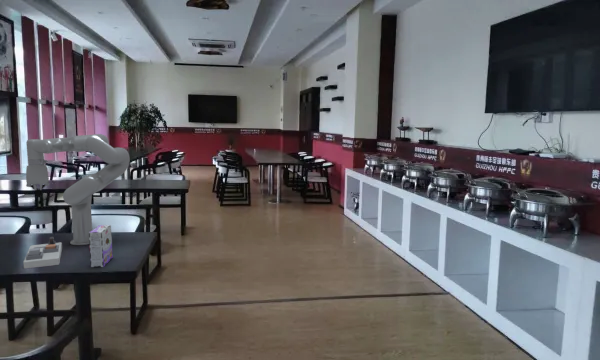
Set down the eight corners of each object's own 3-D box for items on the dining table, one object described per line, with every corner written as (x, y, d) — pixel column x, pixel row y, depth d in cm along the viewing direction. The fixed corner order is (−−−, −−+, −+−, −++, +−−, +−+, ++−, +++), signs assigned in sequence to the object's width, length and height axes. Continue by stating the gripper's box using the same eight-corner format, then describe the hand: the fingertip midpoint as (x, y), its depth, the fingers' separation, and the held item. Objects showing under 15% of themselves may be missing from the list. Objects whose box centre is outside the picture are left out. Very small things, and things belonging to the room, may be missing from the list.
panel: (62, 248, 237) (61, 239, 237) (59, 264, 210) (58, 254, 210) (31, 251, 231) (30, 242, 231) (23, 268, 205) (23, 258, 204)
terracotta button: (55, 248, 224) (55, 243, 224) (55, 250, 221) (55, 246, 220) (46, 249, 223) (46, 244, 222) (45, 251, 219) (45, 247, 219)
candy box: (100, 258, 220) (98, 224, 218) (113, 258, 220) (111, 224, 218) (90, 267, 206) (88, 231, 204) (103, 267, 207) (101, 231, 205)
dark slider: (55, 243, 233) (55, 236, 232) (55, 246, 228) (54, 238, 228) (49, 244, 231) (48, 236, 231) (48, 247, 227) (47, 239, 226)
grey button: (40, 252, 214) (39, 247, 213) (39, 254, 210) (38, 249, 210) (30, 253, 212) (29, 248, 212) (29, 256, 208) (28, 250, 208)
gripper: (52, 161, 247) (55, 195, 250) (20, 162, 241) (23, 197, 244) (51, 162, 241) (54, 197, 243) (18, 164, 234) (21, 199, 237)
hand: (38, 197), depth 243 cm, fingers closed
